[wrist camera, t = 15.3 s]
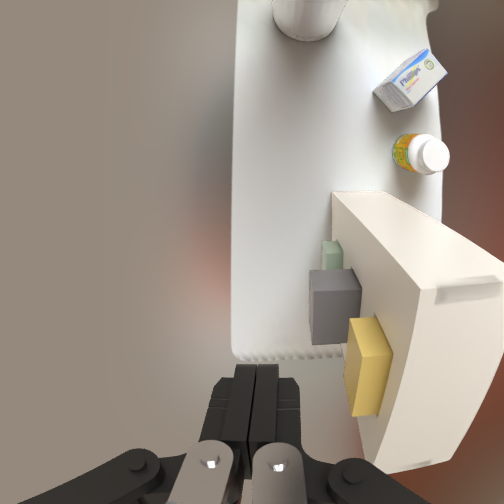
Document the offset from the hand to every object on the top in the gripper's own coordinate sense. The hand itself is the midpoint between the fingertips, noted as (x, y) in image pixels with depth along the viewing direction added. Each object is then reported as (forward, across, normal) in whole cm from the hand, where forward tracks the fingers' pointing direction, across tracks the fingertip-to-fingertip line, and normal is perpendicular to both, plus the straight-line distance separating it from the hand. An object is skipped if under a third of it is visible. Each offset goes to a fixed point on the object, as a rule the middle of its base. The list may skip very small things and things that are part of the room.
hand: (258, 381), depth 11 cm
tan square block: (+13, -9, +8) cm, 17 cm away
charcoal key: (+22, -7, +8) cm, 25 cm away
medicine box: (+37, -19, -17) cm, 45 cm away
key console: (+37, -12, +8) cm, 40 cm away
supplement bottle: (+37, -20, -7) cm, 43 cm away
